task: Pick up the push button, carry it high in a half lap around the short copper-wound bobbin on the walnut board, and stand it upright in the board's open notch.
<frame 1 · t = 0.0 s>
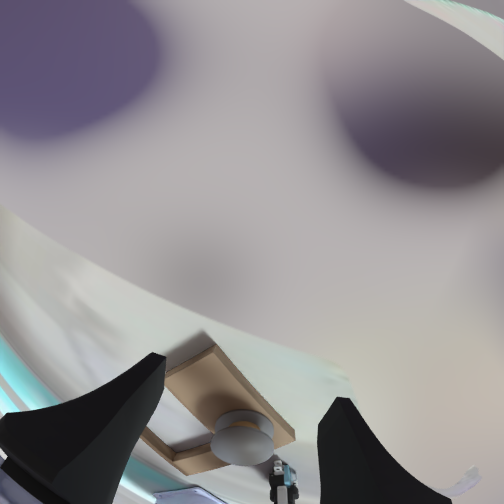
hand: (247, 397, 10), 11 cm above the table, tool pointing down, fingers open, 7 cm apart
notched board: (199, 420, 22), on the table
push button: (282, 471, 23), on the table
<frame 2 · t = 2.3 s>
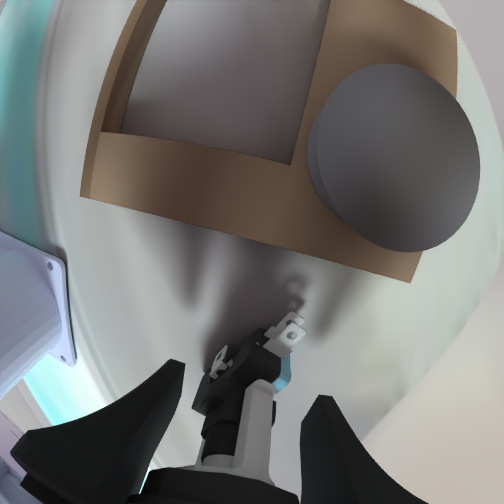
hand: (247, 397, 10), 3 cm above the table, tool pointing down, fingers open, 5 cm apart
notched board: (278, 85, 9), on the table
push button: (254, 353, 13), on the table, touching gripper
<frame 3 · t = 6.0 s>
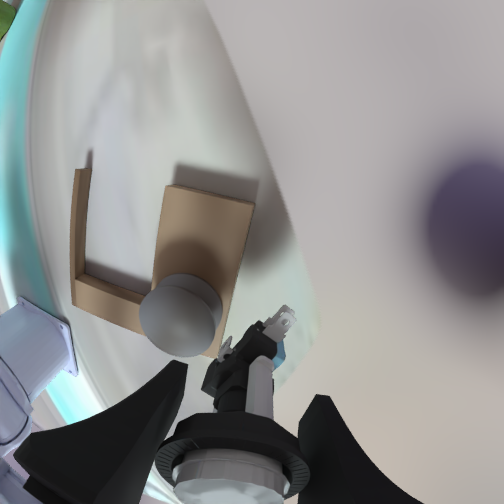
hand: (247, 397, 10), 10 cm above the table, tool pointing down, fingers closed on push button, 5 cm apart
notched board: (147, 259, 20), on the table
plant pot: (3, 29, 13), on the table
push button: (253, 344, 16), point 5 cm above the table, touching gripper
when the fingers open (4 cm above the table, at t = 9.7 s): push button stays where it is, resting in notched board.
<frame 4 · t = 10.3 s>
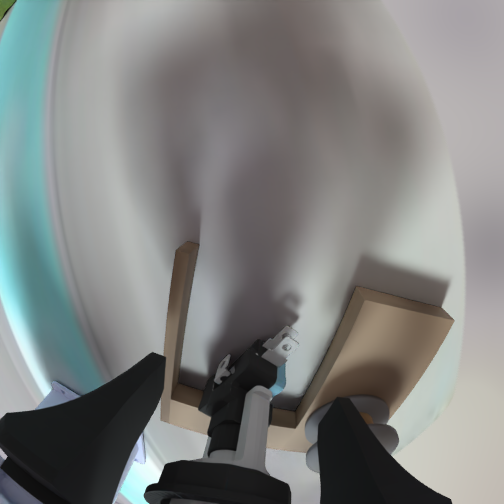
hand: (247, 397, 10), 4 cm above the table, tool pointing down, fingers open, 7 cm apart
notched board: (294, 374, 14), on the table
plant pot: (7, 4, 7), on the table
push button: (254, 361, 14), resting in notched board
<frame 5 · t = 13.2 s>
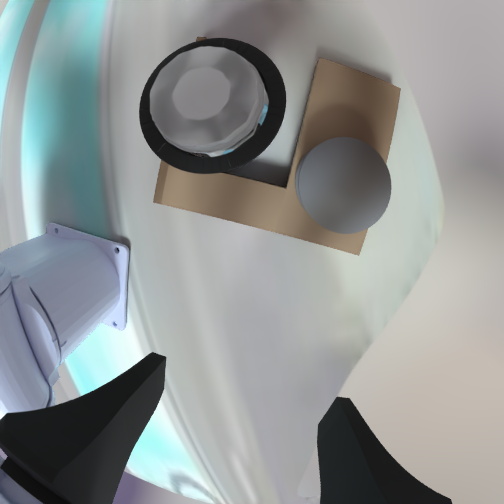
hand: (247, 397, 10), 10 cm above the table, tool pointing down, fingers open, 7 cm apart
notched board: (279, 137, 17), on the table
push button: (245, 127, 17), resting in notched board
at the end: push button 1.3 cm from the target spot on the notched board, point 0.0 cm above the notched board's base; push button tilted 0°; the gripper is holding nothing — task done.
